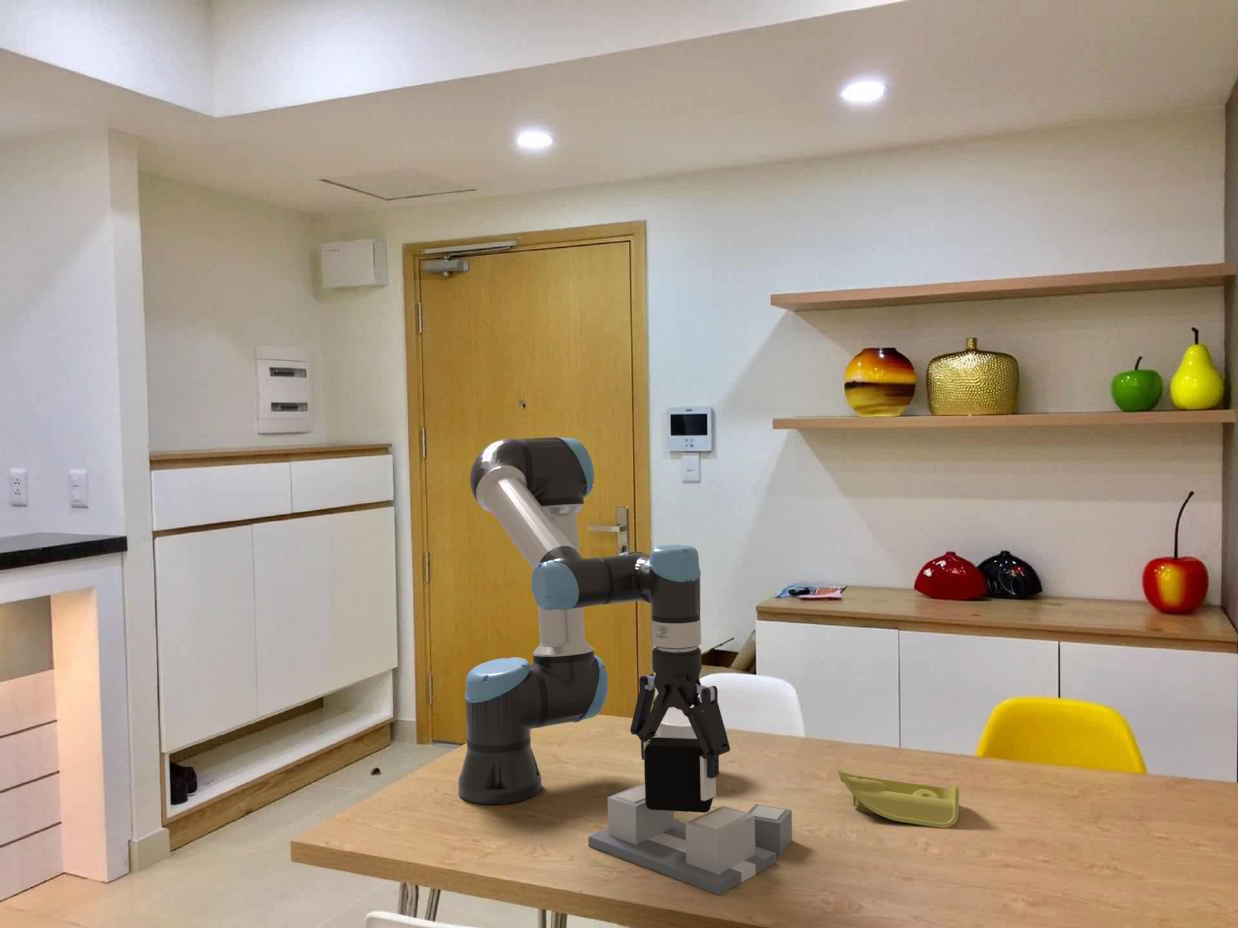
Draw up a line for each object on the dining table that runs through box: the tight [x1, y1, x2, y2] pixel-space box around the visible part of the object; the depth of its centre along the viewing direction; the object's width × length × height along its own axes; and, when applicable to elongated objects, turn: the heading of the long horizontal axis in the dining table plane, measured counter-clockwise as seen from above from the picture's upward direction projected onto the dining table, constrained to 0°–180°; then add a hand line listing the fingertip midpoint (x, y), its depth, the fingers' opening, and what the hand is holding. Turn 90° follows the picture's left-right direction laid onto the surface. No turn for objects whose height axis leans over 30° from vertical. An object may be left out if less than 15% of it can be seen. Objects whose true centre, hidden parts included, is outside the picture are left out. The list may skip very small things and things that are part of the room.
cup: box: [655, 707, 697, 739], centre depth 192 cm, size 12×12×11 cm
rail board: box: [587, 782, 777, 896], centre depth 156 cm, size 26×14×8 cm, turn 47°
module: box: [747, 804, 793, 856], centre depth 159 cm, size 6×6×5 cm
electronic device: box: [643, 736, 714, 814], centre depth 155 cm, size 4×10×10 cm, turn 78°
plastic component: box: [836, 767, 960, 829], centre depth 172 cm, size 20×7×10 cm
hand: (679, 789), depth 155 cm, fingers closed on electronic device, 11 cm apart
